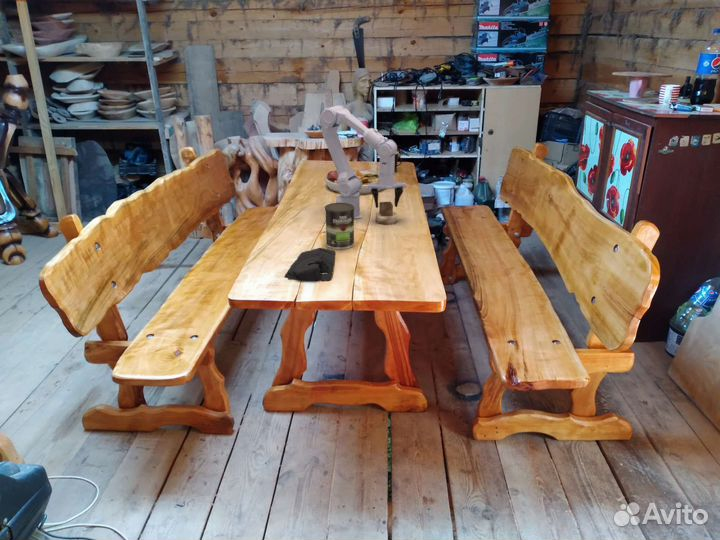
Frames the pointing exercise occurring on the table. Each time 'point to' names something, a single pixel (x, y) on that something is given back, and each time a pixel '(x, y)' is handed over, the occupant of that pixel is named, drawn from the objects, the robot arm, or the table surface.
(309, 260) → the dark slate chunk
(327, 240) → the coffee can
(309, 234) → the table surface
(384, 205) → the walnut cube
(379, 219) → the birch round
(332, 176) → the bowl
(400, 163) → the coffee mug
